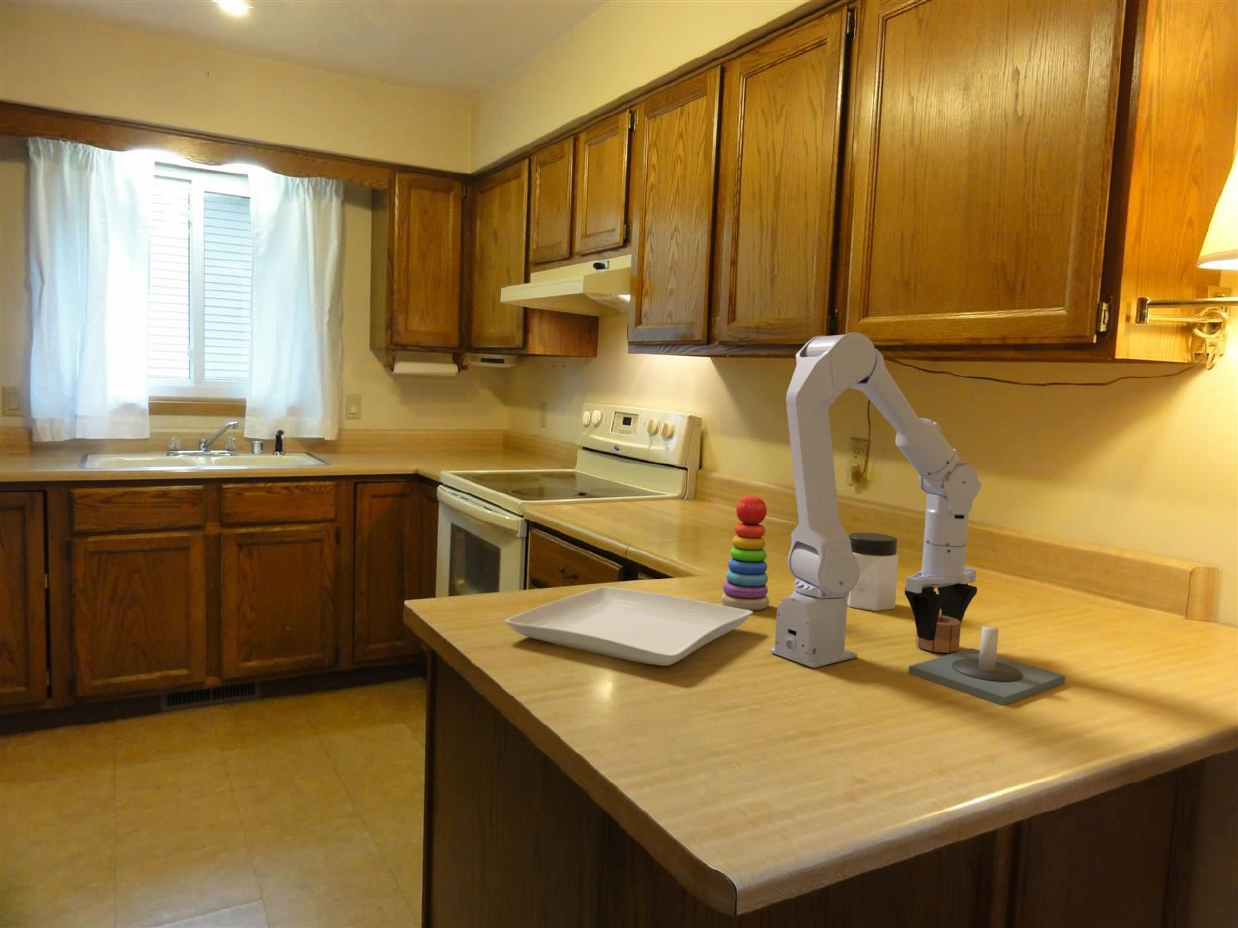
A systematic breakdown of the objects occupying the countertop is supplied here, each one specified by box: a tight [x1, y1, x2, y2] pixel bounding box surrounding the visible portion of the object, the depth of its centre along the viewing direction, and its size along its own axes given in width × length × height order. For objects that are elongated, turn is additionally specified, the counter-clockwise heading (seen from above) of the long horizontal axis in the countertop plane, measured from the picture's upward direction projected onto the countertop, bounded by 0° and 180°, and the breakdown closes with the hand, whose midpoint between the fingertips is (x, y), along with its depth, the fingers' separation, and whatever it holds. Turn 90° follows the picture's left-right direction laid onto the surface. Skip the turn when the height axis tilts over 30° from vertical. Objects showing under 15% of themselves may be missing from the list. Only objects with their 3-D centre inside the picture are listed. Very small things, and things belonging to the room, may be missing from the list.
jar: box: [847, 532, 899, 612], centre depth 146 cm, size 9×8×12 cm
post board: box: [908, 626, 1066, 706], centre depth 110 cm, size 15×13×7 cm
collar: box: [915, 614, 962, 654], centre depth 122 cm, size 6×6×4 cm
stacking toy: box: [721, 495, 770, 612], centre depth 141 cm, size 8×8×19 cm
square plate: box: [504, 585, 754, 667], centre depth 123 cm, size 27×27×4 cm
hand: (937, 635), depth 122 cm, fingers closed on collar, 6 cm apart
